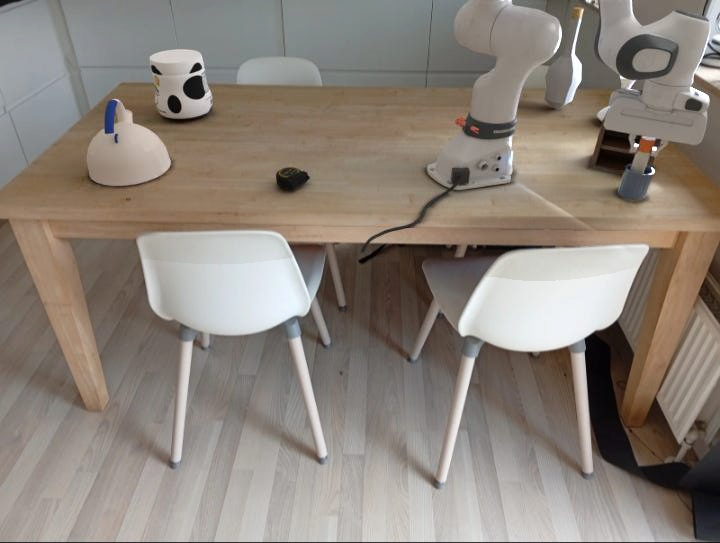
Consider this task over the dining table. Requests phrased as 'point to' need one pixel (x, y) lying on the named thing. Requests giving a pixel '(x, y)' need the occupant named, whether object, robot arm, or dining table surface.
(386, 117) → the dining table surface
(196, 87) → the milk container
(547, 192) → the dining table surface
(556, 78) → the bottle
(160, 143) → the kettle
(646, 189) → the pen cup
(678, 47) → the robot arm
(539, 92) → the dining table surface
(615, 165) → the small wooden shelf
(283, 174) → the tape measure
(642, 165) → the marker
